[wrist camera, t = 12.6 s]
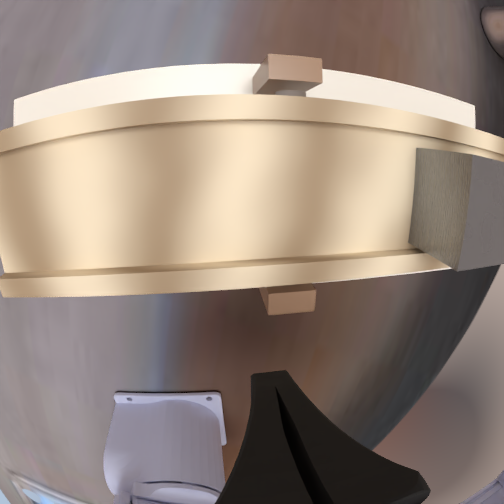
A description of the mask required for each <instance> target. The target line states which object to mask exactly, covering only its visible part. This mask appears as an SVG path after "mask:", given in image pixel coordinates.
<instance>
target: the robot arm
mask: <svg viewBox="0 0 504 504" xmlns="http://www.w3.org/2000/svg"><path fill="white" fill-rule="evenodd" d="M208 397H211V398H208ZM114 400H115V402H116V405H115V408H114V412H113V416H112V420H111V424H110V428H109V432H108V436H107V441H106V445H105V450H104V459H103V464H104V475H105V479H106V482H107V485H108V487H109V489H110V491H111V492H112V493H113V494H114V495H115V496H114V502H113V504H421V503H422V502H423V501H424V500H425V499H426V498H427V497H428V496H429V493H430V488H429V487H428V485H427V483H426V481H425V480H424V479H423V477H422V476H421V475H420V473H419V472H418V471H416V470H413V469H410V468H407V467H404V466H402V465H399V464H397V463H394V462H392V461H390V460H388V459H386V458H384V457H382V456H380V455H378V454H376V453H375V452H373V451H371V450H369V449H368V448H366V447H364V446H363V445H361V444H360V443H358V442H357V441H355V440H354V439H352V438H351V437H349V436H348V435H347V434H346V433H344V432H343V431H342V430H340V429H339V428H338V427H337V426H336V425H334V424H333V423H332V422H331V421H330V420H329V419H328V418H327V417H326V416H325V415H324V414H323V413H322V412H321V411H320V410H319V409H318V408H317V407H316V406H315V405H314V404H313V403H312V402H311V401H310V400H309V399H308V398H307V396H306V395H305V394H304V393H303V392H302V390H301V389H300V388H299V387H298V385H297V384H296V383H295V382H294V380H293V379H292V377H291V376H290V375H289V373H288V372H287V371H286V370H284V371H275V372H266V373H256V374H253V375H252V376H251V409H250V415H249V420H248V424H247V428H246V433H245V436H244V440H243V443H242V446H241V449H240V452H239V455H238V457H237V460H236V462H235V465H234V467H233V470H232V472H231V474H230V476H229V478H228V480H227V482H226V484H225V475H224V465H223V455H222V445H225V444H226V443H227V442H226V434H225V426H224V418H223V409H222V400H221V394H220V393H218V392H202V393H120V392H118V393H115V394H114ZM459 504H504V471H503V472H501V474H500V475H499V476H498V477H497V478H496V479H495V480H494V481H492V482H491V483H489V484H488V485H487V486H485V487H484V488H483V489H481V490H479V491H478V492H476V493H475V494H473V495H472V496H471V497H469V498H467V499H466V500H464V501H463V502H461V503H459Z"/></svg>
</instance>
